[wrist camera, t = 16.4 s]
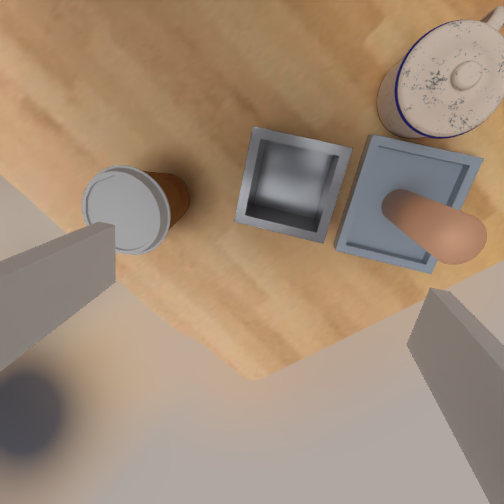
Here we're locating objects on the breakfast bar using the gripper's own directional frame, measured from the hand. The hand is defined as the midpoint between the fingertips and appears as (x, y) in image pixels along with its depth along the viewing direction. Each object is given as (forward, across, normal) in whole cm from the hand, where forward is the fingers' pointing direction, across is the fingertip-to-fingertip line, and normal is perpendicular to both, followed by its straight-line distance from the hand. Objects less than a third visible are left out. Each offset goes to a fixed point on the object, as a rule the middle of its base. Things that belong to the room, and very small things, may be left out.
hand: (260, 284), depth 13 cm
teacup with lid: (+29, +13, +14) cm, 35 cm away
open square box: (+29, 0, +1) cm, 29 cm away
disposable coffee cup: (+29, -16, -4) cm, 33 cm away
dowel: (+28, +14, 0) cm, 31 cm away
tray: (+29, +14, 0) cm, 32 cm away
